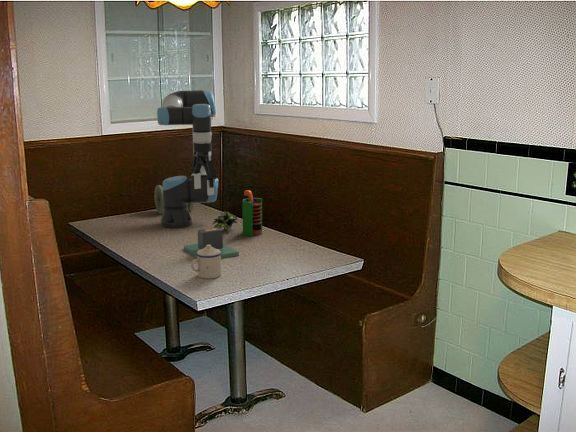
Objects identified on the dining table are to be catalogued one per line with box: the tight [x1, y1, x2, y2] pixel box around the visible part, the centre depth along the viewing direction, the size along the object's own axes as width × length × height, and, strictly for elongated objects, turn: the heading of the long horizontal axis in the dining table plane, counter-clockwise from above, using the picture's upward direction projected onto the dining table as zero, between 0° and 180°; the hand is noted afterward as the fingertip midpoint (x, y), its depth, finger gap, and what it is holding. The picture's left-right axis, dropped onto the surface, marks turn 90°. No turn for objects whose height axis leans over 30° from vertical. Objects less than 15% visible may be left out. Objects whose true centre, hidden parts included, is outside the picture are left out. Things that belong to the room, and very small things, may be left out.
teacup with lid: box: [190, 245, 222, 280], centre depth 236 cm, size 12×9×12 cm
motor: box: [242, 189, 263, 237], centre depth 294 cm, size 10×9×20 cm
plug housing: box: [197, 227, 224, 250], centre depth 266 cm, size 5×9×8 cm, turn 121°
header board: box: [183, 242, 240, 259], centre depth 267 cm, size 20×16×4 cm
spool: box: [153, 184, 195, 215], centre depth 338 cm, size 16×15×15 cm
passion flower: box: [212, 211, 238, 234], centre depth 299 cm, size 11×11×12 cm
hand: (204, 191), depth 272 cm, fingers open, 13 cm apart
